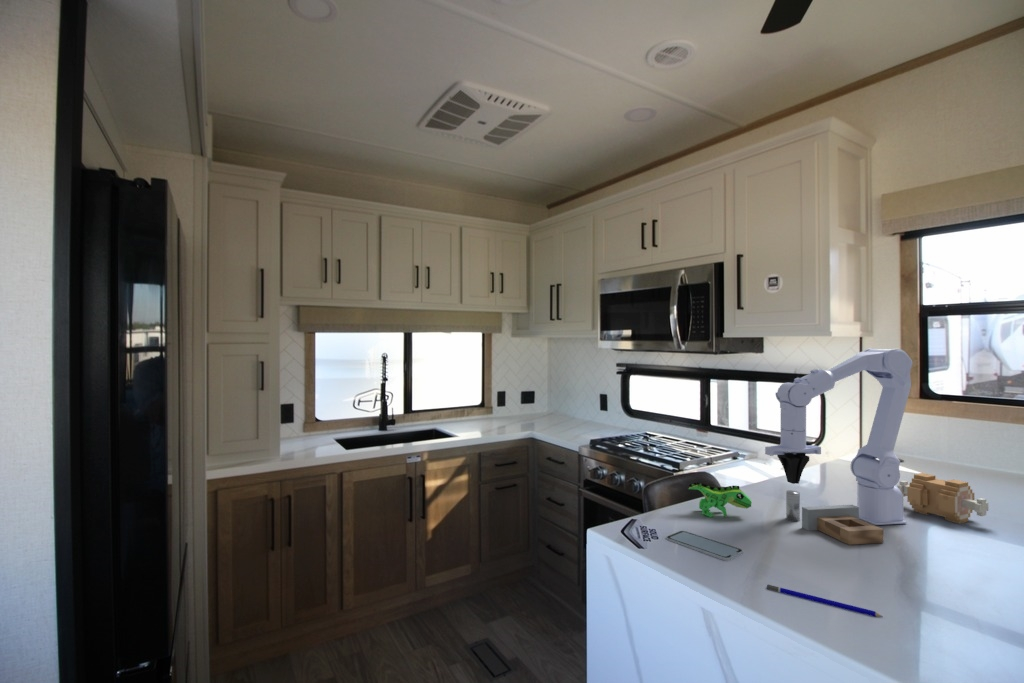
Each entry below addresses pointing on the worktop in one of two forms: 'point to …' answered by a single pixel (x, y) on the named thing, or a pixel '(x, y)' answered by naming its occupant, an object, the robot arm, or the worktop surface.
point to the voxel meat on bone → (942, 497)
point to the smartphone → (705, 545)
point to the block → (850, 530)
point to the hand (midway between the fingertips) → (793, 482)
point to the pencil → (824, 601)
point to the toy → (720, 498)
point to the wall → (826, 514)
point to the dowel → (792, 505)
